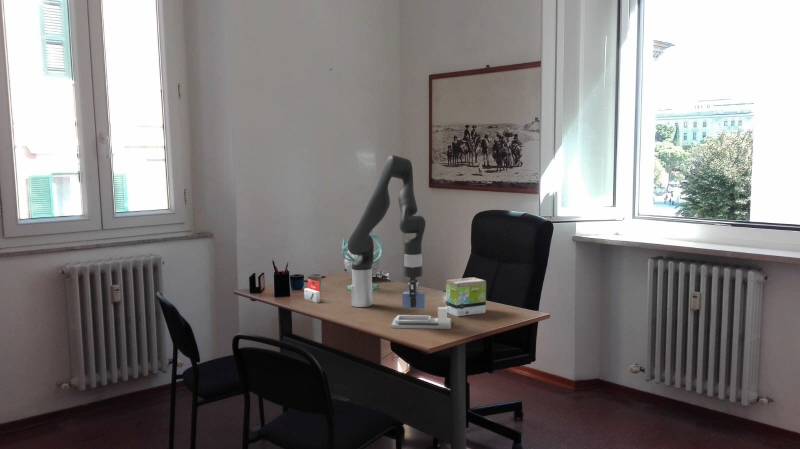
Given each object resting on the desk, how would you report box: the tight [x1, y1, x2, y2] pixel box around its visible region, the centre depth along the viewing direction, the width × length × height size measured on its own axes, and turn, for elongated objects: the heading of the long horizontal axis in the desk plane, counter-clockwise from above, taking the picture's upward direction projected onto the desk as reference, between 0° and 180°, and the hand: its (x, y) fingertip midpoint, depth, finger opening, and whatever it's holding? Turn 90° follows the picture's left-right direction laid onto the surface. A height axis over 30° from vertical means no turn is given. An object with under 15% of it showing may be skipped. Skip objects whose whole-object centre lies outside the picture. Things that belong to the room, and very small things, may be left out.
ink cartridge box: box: [303, 278, 321, 303], centre depth 317 cm, size 2×11×10 cm, turn 39°
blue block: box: [401, 291, 426, 309], centre depth 269 cm, size 9×4×6 cm, turn 84°
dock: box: [390, 306, 452, 330], centre depth 270 cm, size 24×12×7 cm, turn 84°
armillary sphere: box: [341, 230, 383, 292], centre depth 343 cm, size 22×26×35 cm
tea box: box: [445, 277, 487, 317], centre depth 288 cm, size 15×10×15 cm, turn 117°
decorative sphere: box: [344, 248, 381, 277], centre depth 368 cm, size 20×20×20 cm
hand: (413, 305), depth 270 cm, fingers closed on blue block, 4 cm apart
